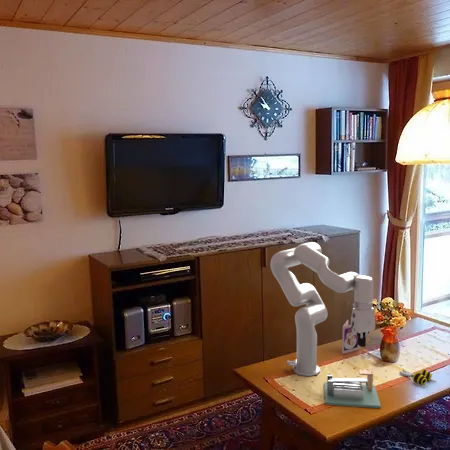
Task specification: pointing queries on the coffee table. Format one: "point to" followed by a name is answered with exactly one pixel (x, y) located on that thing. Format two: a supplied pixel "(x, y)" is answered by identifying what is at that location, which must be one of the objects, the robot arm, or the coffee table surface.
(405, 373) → the pliers
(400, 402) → the coffee table surface
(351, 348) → the greeting card
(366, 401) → the circuit board
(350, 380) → the strap
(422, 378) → the opera glasses
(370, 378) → the bracket
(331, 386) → the heatsink
